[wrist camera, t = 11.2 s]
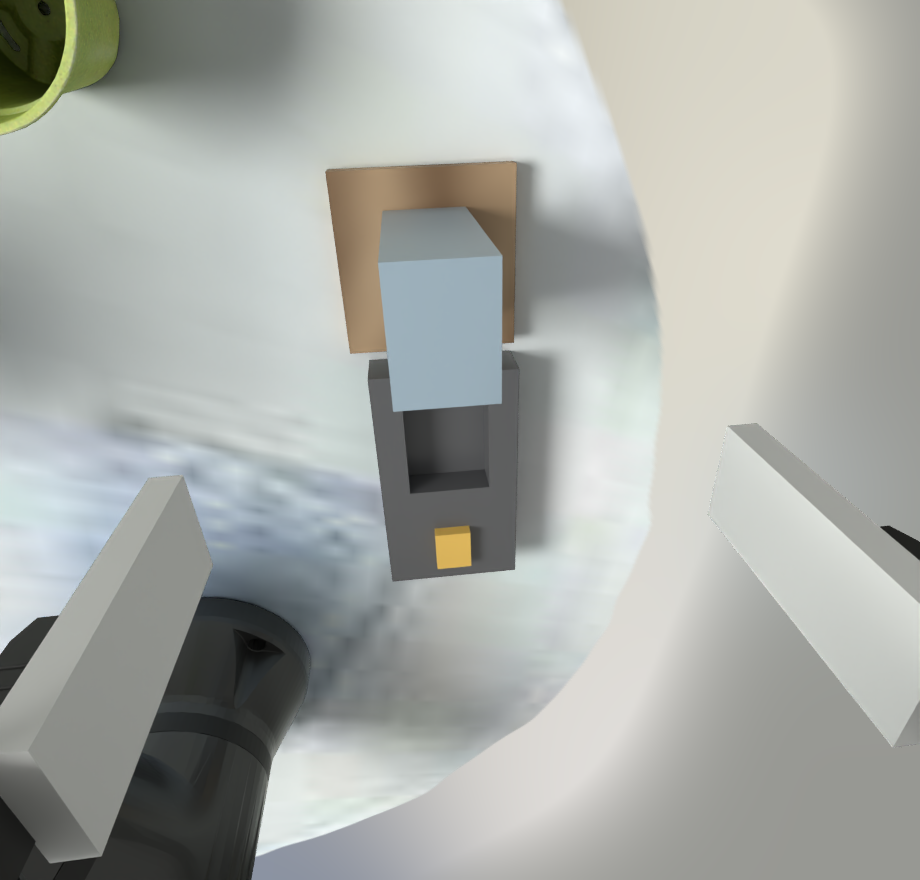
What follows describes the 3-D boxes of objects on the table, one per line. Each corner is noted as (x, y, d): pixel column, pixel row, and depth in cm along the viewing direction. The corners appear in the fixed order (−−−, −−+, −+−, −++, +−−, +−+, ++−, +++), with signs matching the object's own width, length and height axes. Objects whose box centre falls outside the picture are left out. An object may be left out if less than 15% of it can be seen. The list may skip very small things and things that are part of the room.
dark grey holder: (392, 553, 44) (392, 589, 41) (369, 360, 36) (367, 385, 33) (507, 543, 45) (516, 577, 42) (510, 350, 37) (521, 374, 34)
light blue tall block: (392, 318, 34) (393, 411, 24) (382, 210, 31) (378, 262, 21) (468, 314, 34) (501, 403, 24) (465, 206, 31) (502, 255, 21)
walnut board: (351, 346, 36) (350, 353, 35) (327, 169, 31) (325, 171, 30) (510, 335, 36) (513, 342, 35) (512, 161, 31) (516, 163, 30)
